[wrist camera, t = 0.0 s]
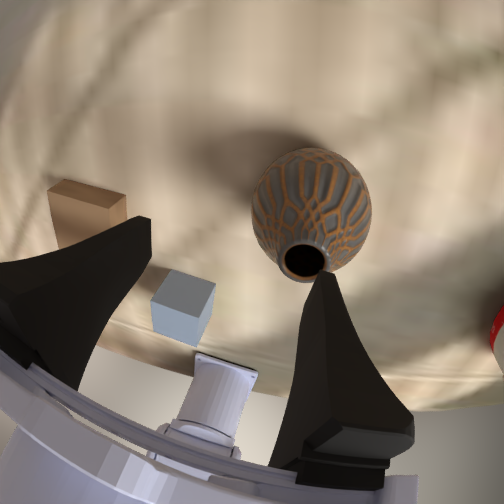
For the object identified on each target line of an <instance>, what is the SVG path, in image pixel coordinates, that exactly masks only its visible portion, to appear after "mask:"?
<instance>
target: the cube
mask: <svg viewBox="0 0 504 504" xmlns="http://www.w3.org/2000/svg"><path fill="white" fill-rule="evenodd" d="M215 287H216V284H215V283H212V282H209V281H206V280H203V279H200V278H197V277H194V276H191V275H188V274H185V273H182V272H179V271H176V270H173V269H171V271H170V272H169V274H168V275H167V277H166V278H165V280H164V281H163V283H162V284H161V286H160V287H159V288H158V290H157V291H156V293H155V294H154V296H153V297H152V299H151V300H150V302H151V313H152V322H153V331H154V332H157V333H159V334H162V335H164V336H167V337H169V338H172V339H175V340H177V341H180V342H183V343H186V344H188V345H191V346H194V347H197V346H198V343H199V341H200V339H201V337H202V335H203V332H204V330H205V328H206V326H207V324H208V321H209V319H210V317H211V315H212V308H213V301H214V294H215Z"/></svg>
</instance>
